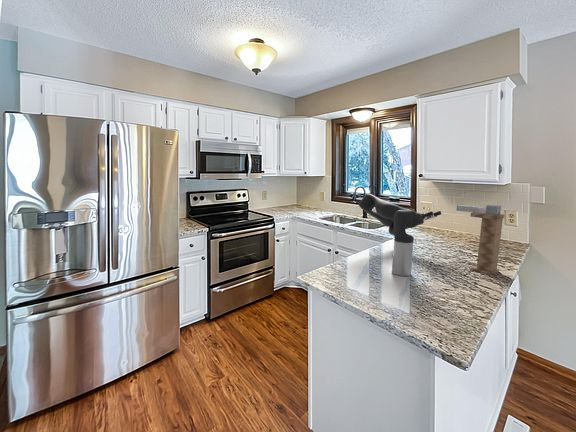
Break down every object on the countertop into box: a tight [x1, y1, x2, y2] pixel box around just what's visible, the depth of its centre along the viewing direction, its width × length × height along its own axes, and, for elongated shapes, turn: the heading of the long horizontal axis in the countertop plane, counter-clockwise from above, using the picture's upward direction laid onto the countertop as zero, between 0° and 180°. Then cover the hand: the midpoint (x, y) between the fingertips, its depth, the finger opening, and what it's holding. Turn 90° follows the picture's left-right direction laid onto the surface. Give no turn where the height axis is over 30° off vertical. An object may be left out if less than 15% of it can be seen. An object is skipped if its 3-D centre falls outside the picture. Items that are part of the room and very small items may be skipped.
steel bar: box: [455, 204, 502, 215], centre depth 159 cm, size 20×5×4 cm, turn 36°
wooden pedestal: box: [469, 212, 505, 276], centre depth 158 cm, size 12×10×31 cm
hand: (436, 212), depth 178 cm, fingers open, 8 cm apart
